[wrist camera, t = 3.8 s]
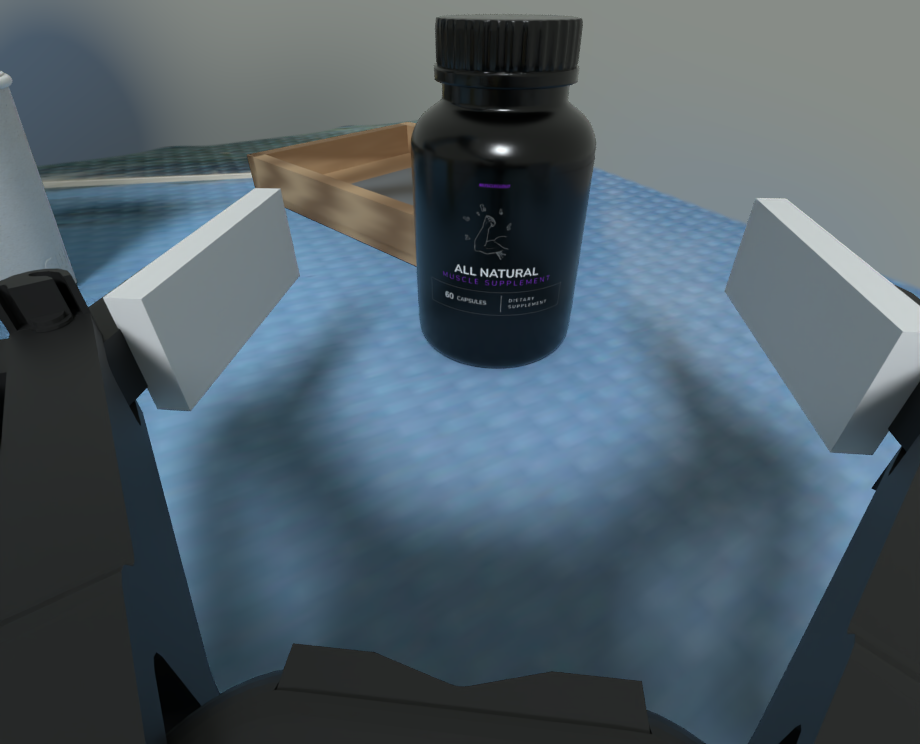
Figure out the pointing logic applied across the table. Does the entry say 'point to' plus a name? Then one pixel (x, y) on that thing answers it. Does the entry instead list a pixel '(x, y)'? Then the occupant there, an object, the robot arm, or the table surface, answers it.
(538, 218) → the supplement bottle
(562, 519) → the table surface
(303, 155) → the tray
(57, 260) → the dixie cup
